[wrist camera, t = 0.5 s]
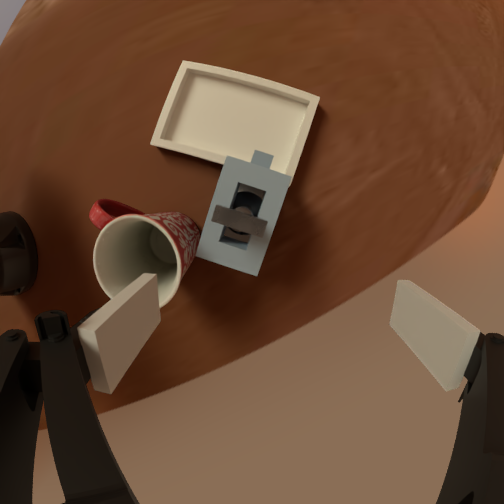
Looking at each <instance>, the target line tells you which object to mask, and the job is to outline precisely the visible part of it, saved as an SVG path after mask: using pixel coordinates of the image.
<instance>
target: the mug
mask: <svg viewBox="0 0 504 504" xmlns="http://www.w3.org/2000/svg"><path fill="white" fill-rule="evenodd" d="M112 216H114V217H117V218H114V217H112ZM89 217H90V220H91V221H92V223H93V224H94V225H95V226H96V227H97V228H98V229H100V230H101V232H100V234H99V236H98V238H97V240H96V243H95V247H94V253H93V264H94V270H95V274H96V277H97V280H98V282H99V284H100V286H101V287H102V289H103V290H104V292H105V293H106V294H107V296H108V297H109V298H110V299H112V298H113V297H115V296H116V295H117V294H118V293H120V292H121V291H122V290H123V289H125V288H126V287H127V286H128V285H130V284H131V283H132V282H133V281H135V280H136V279H137V278H138V277H140V276H141V275H142V274H143V273H149V274H157V283H158V296H159V307H160V308H161V307H163V306H164V305H166V304H167V303H168V302H169V301H170V300H171V299H172V298H173V297H174V295H175V294H176V292H177V290H178V288H179V285H180V282H181V279H182V278H183V276H184V274H185V273H186V271H187V269H188V268H189V266H190V264H191V263H192V261H193V259H194V258H195V255H196V252H197V248H198V245H199V241H200V233H199V230H198V227H197V226H196V224H195V223H194V222H193V220H192V219H190V218H189V217H188V216H186V215H184V214H182V213H178V212H165V213H156V214H145V213H143V212H141V211H139V210H137V209H134V208H132V207H130V206H128V205H125V204H122V203H120V202H117V201H113V200H109V199H100V200H98V201H96V202H95V203H94V205H93V207H92V209H91V211H90V214H89Z"/></svg>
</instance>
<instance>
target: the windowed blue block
mask: <svg viewBox="0 0 504 504" xmlns="http://www.w3.org/2000/svg"><path fill="white" fill-rule="evenodd" d="M273 157H274V156H273V155H270V154H267V153H264V152H261V151H258V150H255V151H254V154H253V157H252V160H251V162H247V161H244V160H240V159H237V158H234V157H231V156H227V157H226V160H225V163H224V166H223V168H222V171H221V174H220V178H219V181H218V184H217V187H216V190H215V193H214V196H213V199H212V202H211V205H210V209H209V212H208V215H207V218H206V222H205V225H204V228H203V231H202V235H201V238H200V241H199V245H198V248H197V252H196V255H195V256H197V257H200V258H203V259H206V260H209V261H212V262H215V263H218V264H221V265H224V266H227V267H230V268H233V269H236V270H239V271H242V272H245V273H248V274H251V275H254V276H257V275H258V272H259V270H260V267H261V264H262V261H263V258H264V255H265V253H266V250H267V247H268V244H269V241H270V238H271V236H272V233H273V230H274V227H275V224H276V221H277V218H278V215H279V213H280V210H281V207H282V204H283V201H284V198H285V195H286V192H287V189H288V187H289V184H290V181H291V178H292V177H291V176H288V175H286V174H283V173H280V172H277V171H274V170H271V169H270V166H271V163H272V160H273ZM241 183H242V184H245V185H249V186H252V187H255V188H258V189H261V190H264V191H265V194H264V197H263V200H262V203H261V206H260V209H259V212H258V215H257V217H259V218H262V219H265V220H268V223H267V226H266V229H265V232H264V235H263V238H261V237H258V236H255V235H252V234H251V236H250V239H249V241H248V243H246V242H243V241H240V240H237V239H234V238H231V237H228V236H225V235H224V233H225V230H226V226H224V225H221V224H218V223H215V222H212V221H211V219H212V216H213V213H214V210H215V207H216V205H217V204H219V205H222V206H225V207H228V208H231V209H232V208H233V205H234V202H235V199H236V196H237V193H238V190H239V187H240V184H241Z"/></svg>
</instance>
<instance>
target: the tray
mask: <svg viewBox="0 0 504 504" xmlns="http://www.w3.org/2000/svg"><path fill="white" fill-rule="evenodd" d="M319 99H320V97H318V96H315V95H312V94H310V93H307V92H304V91H301V90H298V89H296V88H293V87H290V86H287V85H283V84H280V83H277V82H274V81H271V80H267V79H264V78H260V77H257V76H253V75H249V74H245V73H241V72H237V71H233V70H229V69H225V68H220V67H215V66H211V65H206V64H200V63H195V62H189V61H183V62H182V64H181V66H180V68H179V70H178V73H177V75H176V77H175V80H174V82H173V84H172V87H171V89H170V92H169V94H168V97H167V99H166V102H165V104H164V107H163V110H162V112H161V115H160V118H159V120H158V123H157V126H156V129H155V132H154V134H153V137H152V140H151V143H150V144H151V145H153V146H156V147H160V148H164V149H168V150H172V151H175V152H179V153H183V154H186V155H190V156H194V157H197V158H201V159H204V160H208V161H211V162H214V163H218V164H221V165H224V163H225V160H226V157H227V156H231V157H234V158H237V159H240V160H244V161H247V162H251V160H252V157H253V154H254V151H255V150H258V151H261V152H264V153H267V154H270V155H273V156H274V157H273V160H272V163H271V166H270V169H271V170H274V171H277V172H280V173H283V174H286V175H288V176H291V177H292V178H291V181H290V184H289V186H290V185H291V182H292V179H293V176H294V174H295V171H296V168H297V165H298V162H299V159H300V156H301V153H302V150H303V147H304V144H305V141H306V138H307V135H308V132H309V129H310V126H311V123H312V120H313V117H314V114H315V111H316V108H317V105H318V102H319Z"/></svg>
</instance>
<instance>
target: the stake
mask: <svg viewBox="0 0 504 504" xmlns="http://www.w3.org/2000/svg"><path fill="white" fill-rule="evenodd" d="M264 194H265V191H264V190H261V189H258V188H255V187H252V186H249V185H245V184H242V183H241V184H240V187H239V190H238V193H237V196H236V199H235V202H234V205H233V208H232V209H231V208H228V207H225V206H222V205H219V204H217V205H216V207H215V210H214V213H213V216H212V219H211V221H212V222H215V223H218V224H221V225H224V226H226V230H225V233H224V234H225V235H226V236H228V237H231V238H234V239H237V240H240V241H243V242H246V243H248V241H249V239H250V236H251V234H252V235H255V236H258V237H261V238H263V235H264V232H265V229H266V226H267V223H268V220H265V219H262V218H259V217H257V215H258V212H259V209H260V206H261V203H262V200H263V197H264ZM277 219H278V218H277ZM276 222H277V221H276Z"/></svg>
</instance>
